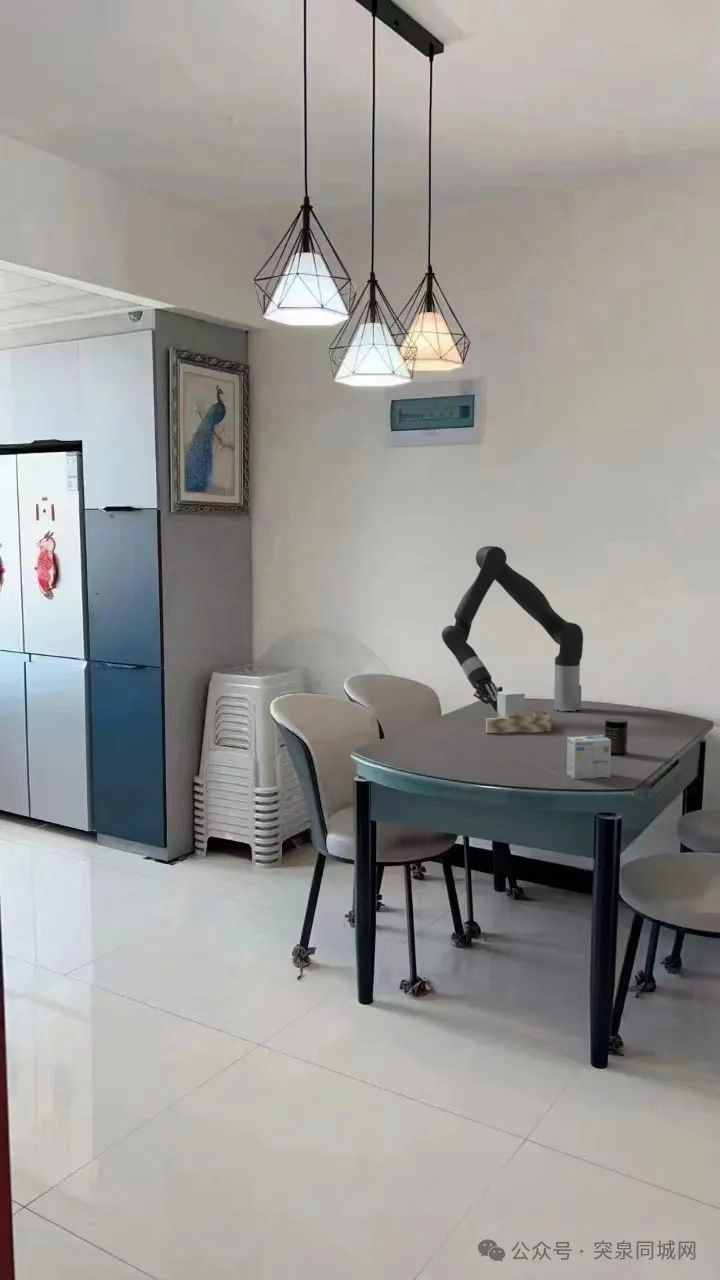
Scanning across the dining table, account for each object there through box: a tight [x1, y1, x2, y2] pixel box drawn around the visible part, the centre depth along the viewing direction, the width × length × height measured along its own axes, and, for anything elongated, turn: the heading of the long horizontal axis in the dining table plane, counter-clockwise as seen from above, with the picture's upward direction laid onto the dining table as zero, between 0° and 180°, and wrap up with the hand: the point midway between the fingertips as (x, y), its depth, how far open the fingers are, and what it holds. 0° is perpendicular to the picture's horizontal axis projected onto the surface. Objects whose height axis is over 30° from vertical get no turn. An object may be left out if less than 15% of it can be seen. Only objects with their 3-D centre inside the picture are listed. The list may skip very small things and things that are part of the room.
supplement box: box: [496, 690, 526, 718], centre depth 335 cm, size 7×7×13 cm
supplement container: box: [604, 717, 629, 756], centre depth 298 cm, size 7×7×10 cm
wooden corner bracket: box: [485, 707, 552, 734], centre depth 337 cm, size 23×17×6 cm
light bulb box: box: [566, 734, 612, 780], centre depth 272 cm, size 11×7×11 cm, turn 99°
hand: (500, 711), depth 339 cm, fingers closed
